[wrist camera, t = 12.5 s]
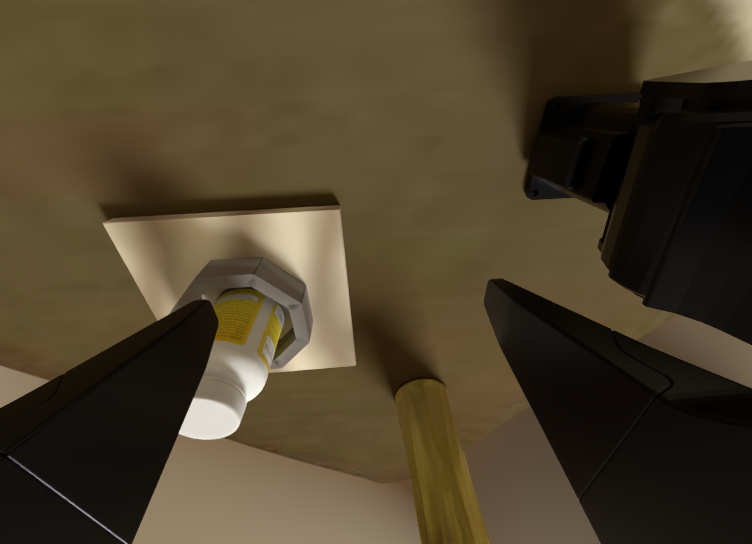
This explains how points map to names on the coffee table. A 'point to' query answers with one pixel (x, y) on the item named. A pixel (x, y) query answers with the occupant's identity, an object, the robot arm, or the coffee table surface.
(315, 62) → the coffee table surface
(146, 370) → the robot arm
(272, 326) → the supplement bottle
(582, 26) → the coffee table surface
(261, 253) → the socket plate
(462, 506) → the vase
